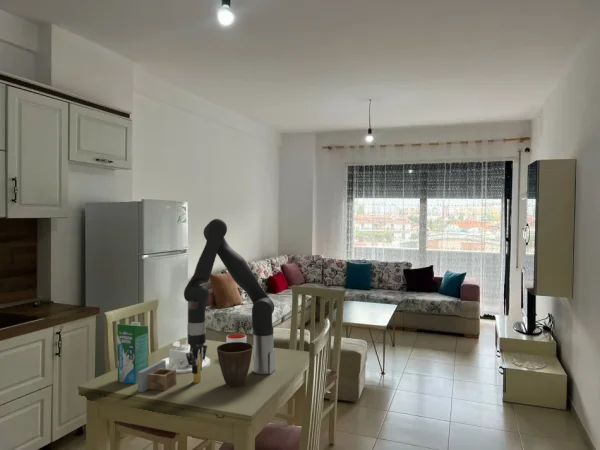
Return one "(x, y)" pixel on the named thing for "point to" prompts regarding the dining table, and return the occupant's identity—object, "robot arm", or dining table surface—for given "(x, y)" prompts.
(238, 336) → the cup
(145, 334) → the milk carton
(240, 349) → the plant pot
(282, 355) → the dining table surface
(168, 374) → the brown wooden open box
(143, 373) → the wall
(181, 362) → the dish
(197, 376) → the dowel
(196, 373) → the robot arm
